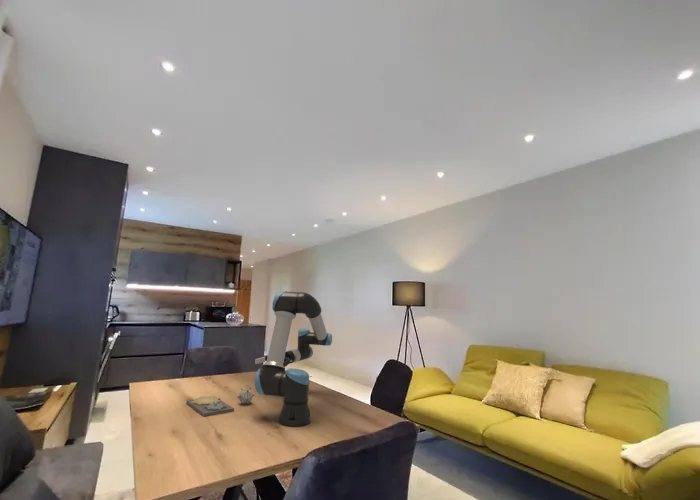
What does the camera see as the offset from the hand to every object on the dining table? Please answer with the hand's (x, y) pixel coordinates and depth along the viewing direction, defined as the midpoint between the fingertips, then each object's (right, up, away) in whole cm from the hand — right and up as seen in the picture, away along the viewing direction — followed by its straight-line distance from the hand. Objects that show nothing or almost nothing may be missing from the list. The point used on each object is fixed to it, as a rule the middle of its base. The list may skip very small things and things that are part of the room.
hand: (262, 364), depth 189 cm
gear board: (-23, -17, -16) cm, 33 cm away
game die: (-7, -20, -7) cm, 22 cm away
